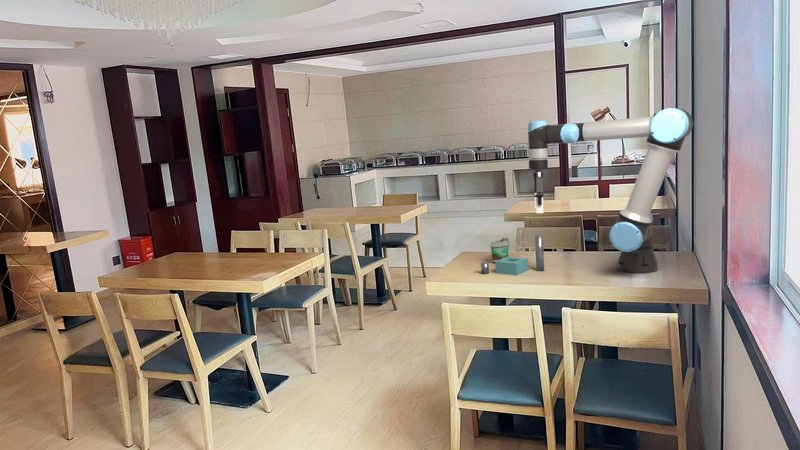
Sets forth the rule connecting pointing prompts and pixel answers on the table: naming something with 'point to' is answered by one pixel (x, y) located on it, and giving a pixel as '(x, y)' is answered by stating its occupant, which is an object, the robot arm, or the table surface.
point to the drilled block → (511, 265)
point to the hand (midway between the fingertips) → (539, 210)
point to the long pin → (539, 252)
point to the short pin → (484, 268)
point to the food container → (499, 249)
